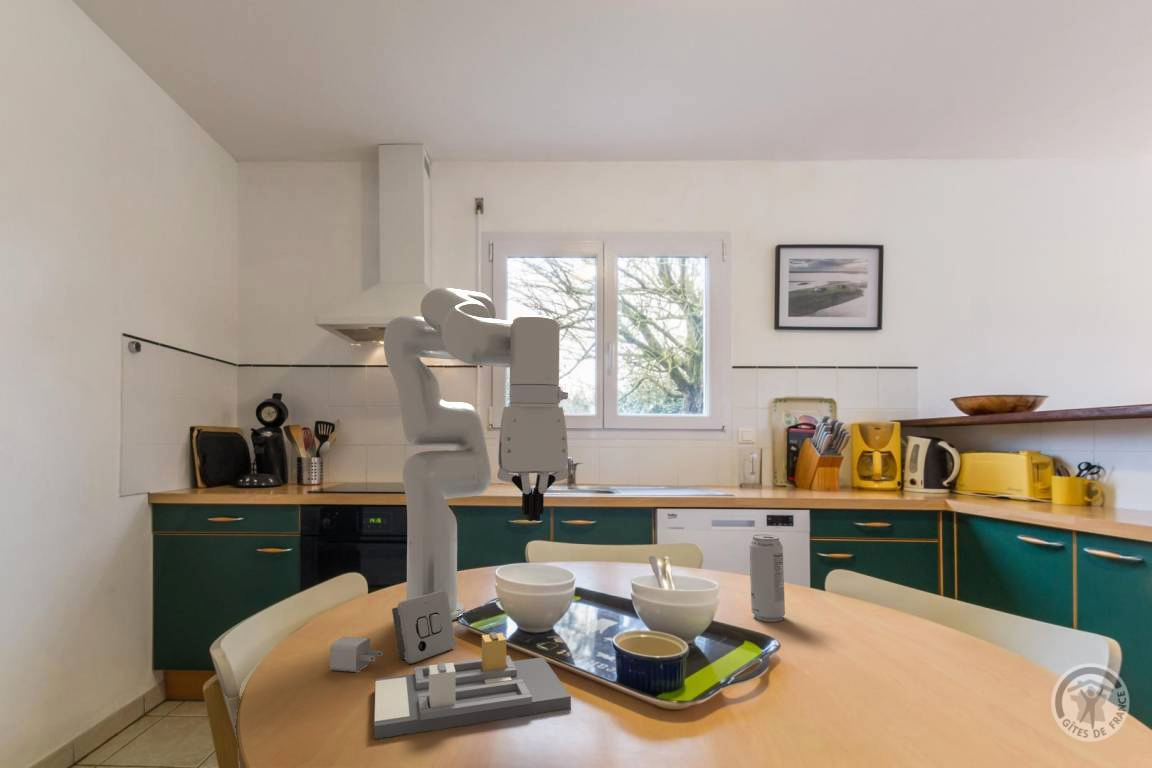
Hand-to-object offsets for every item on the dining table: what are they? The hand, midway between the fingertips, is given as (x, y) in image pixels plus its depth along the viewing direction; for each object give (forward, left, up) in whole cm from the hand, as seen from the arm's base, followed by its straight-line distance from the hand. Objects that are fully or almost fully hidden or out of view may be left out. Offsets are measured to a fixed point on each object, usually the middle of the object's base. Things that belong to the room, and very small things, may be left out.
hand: (532, 519), depth 91 cm
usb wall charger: (-10, -25, -23) cm, 35 cm away
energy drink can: (-10, +48, -23) cm, 54 cm away
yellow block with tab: (+1, -6, -21) cm, 22 cm away
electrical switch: (-13, -15, -23) cm, 30 cm away
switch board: (+6, -10, -22) cm, 25 cm away
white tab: (+10, -14, -21) cm, 27 cm away
